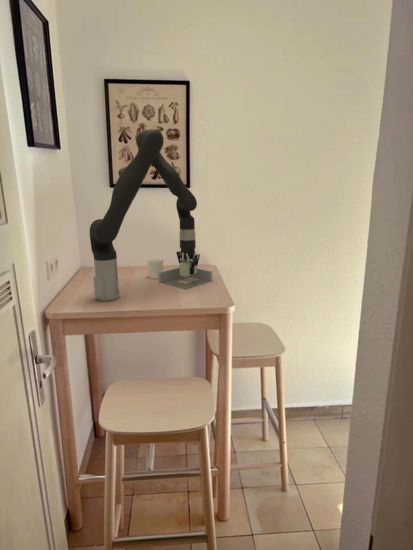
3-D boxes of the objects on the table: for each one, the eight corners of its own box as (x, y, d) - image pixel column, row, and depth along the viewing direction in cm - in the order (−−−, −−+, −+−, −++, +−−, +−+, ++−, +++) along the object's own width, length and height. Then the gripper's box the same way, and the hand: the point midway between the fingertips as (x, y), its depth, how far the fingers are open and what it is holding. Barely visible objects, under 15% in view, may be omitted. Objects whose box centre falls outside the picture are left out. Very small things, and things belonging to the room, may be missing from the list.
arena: (186, 291, 170) (185, 278, 168) (159, 284, 181) (158, 272, 180) (212, 282, 183) (212, 271, 181) (185, 276, 194) (185, 265, 193)
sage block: (197, 273, 185) (196, 261, 183) (185, 276, 179) (185, 264, 177) (191, 272, 187) (190, 260, 186) (179, 275, 182) (179, 263, 180)
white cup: (145, 279, 189) (144, 260, 187) (152, 275, 196) (151, 257, 194) (159, 281, 187) (159, 261, 184) (166, 277, 194) (165, 258, 191)
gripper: (204, 238, 177) (204, 274, 181) (182, 235, 186) (183, 269, 190) (193, 241, 171) (193, 277, 176) (171, 237, 180) (172, 272, 185)
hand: (188, 273), depth 183 cm, fingers closed on sage block, 4 cm apart
